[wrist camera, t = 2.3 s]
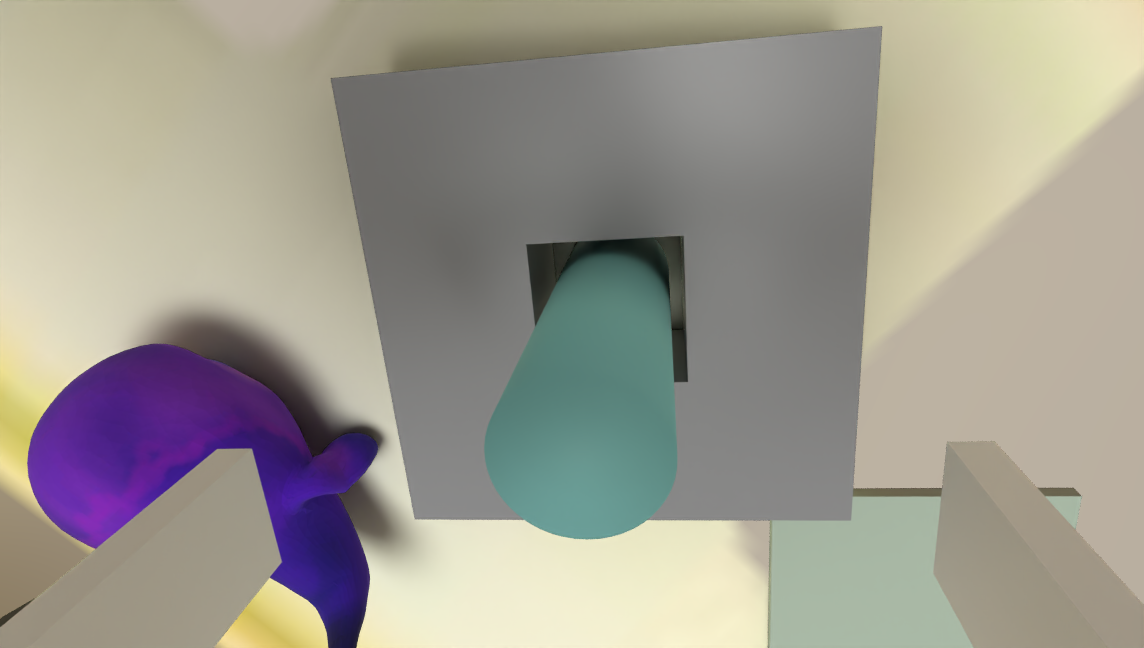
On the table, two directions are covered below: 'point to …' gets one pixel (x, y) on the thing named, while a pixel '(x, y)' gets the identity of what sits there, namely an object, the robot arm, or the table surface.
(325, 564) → the toy
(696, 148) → the socket
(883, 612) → the mat
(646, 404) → the plug
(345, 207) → the table surface
